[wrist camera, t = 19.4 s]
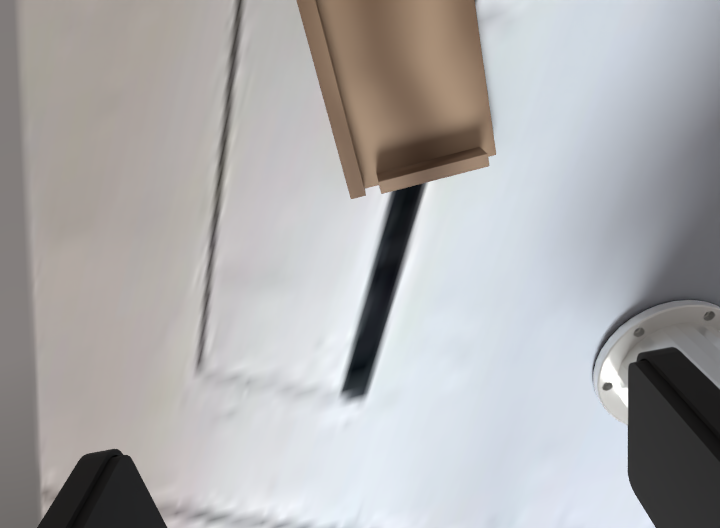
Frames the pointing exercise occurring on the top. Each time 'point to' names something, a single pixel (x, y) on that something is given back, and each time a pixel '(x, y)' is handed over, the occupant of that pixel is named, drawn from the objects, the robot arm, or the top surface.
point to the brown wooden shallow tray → (401, 88)
